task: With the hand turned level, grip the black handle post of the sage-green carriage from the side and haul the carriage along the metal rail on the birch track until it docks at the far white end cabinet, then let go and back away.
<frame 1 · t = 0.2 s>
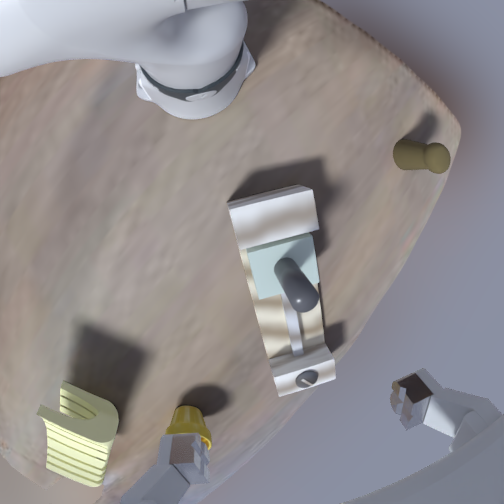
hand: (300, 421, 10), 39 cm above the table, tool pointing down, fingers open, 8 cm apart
rail track: (285, 295, 52), on the table
carriage: (290, 276, 41), point 9 cm above the table, slide at -8.0 cm
slatted curved stool: (89, 407, 57), on the table
olive brown pepper mill: (404, 154, 46), on the table
plant pot: (188, 412, 60), on the table
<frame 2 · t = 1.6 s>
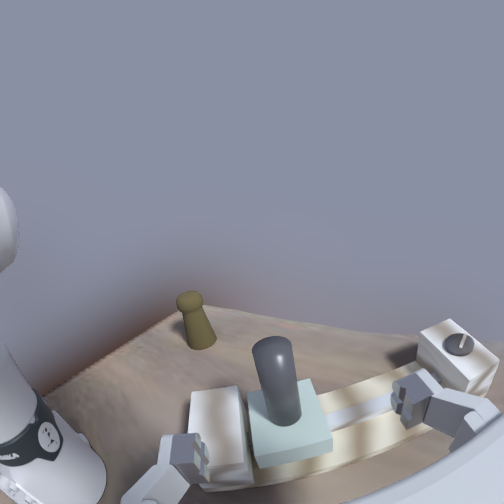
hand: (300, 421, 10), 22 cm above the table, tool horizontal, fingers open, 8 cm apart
rail track: (351, 424, 30), on the table
carriage: (282, 399, 27), point 9 cm above the table, slide at -8.0 cm
olive brown pepper mill: (202, 341, 57), on the table
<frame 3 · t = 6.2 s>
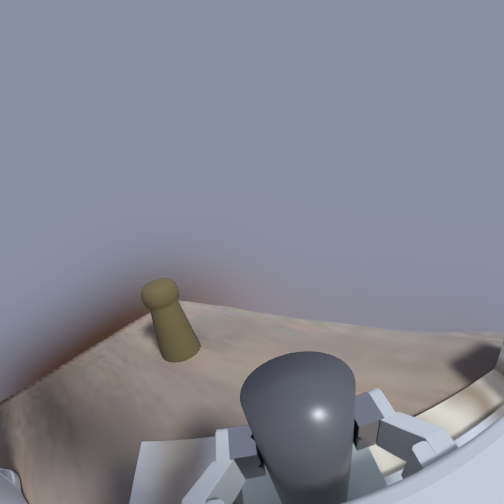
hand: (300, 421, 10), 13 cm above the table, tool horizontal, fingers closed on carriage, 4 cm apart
rail track: (418, 483, 13), on the table
carriage: (312, 480, 10), point 9 cm above the table, slide at -8.0 cm, touching gripper
olive brown pepper mill: (181, 350, 40), on the table
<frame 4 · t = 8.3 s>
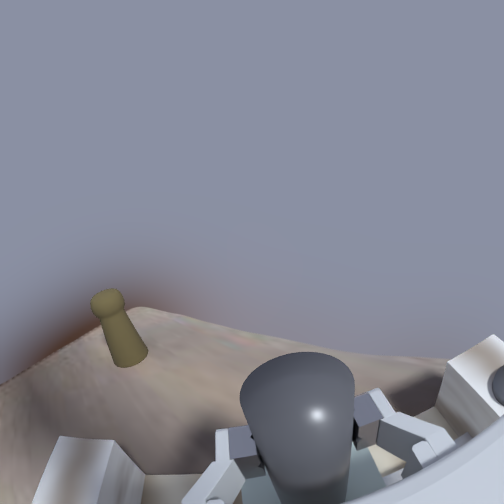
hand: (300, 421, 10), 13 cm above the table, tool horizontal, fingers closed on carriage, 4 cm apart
carriage: (311, 479, 10), point 9 cm above the table, slide at 0.4 cm, touching gripper
olive brown pepper mill: (131, 356, 39), on the table
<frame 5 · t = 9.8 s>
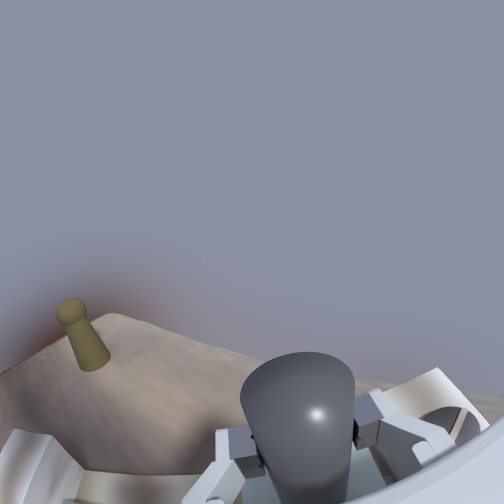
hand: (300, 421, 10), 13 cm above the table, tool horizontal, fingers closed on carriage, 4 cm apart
carriage: (311, 480, 10), point 9 cm above the table, slide at 7.5 cm, touching gripper
olive brown pepper mill: (95, 361, 39), on the table
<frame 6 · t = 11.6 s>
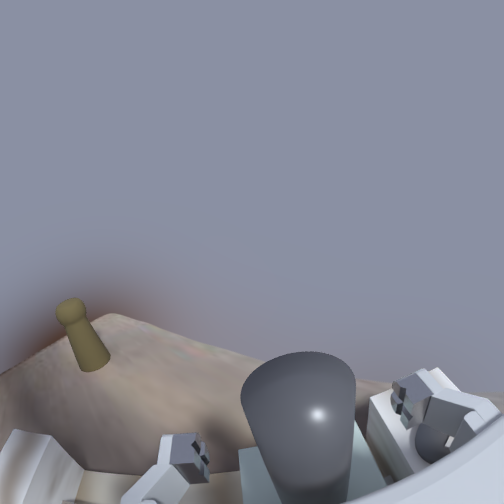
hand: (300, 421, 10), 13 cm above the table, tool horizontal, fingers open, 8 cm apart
carriage: (312, 480, 10), point 9 cm above the table, slide at 7.5 cm
olive brown pepper mill: (95, 362, 39), on the table
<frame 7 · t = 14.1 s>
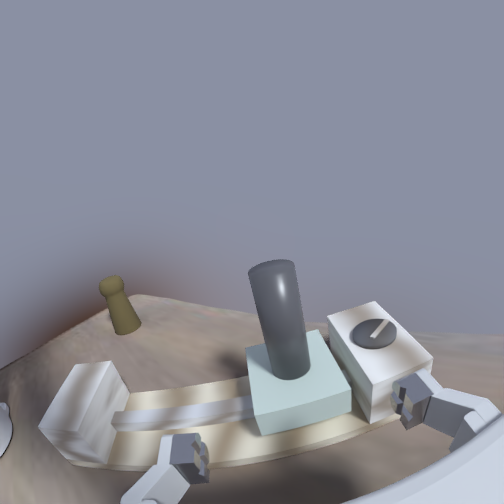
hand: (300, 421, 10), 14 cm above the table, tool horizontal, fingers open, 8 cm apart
rail track: (229, 422, 26), on the table
carriage: (286, 344, 24), point 9 cm above the table, slide at 7.5 cm
olive brown pepper mill: (128, 328, 53), on the table
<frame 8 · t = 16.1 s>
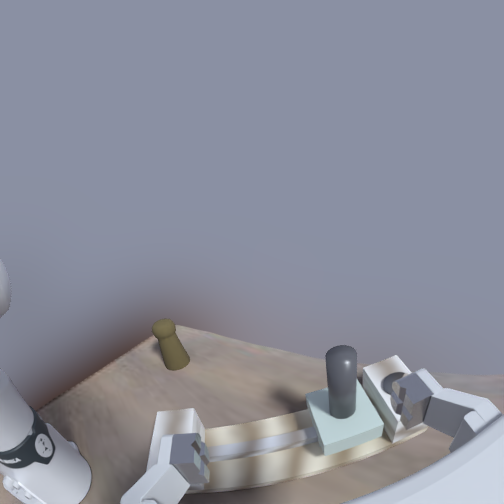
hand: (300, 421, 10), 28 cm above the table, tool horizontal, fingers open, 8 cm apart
rail track: (293, 446, 34), on the table
carriage: (342, 396, 32), point 9 cm above the table, slide at 7.5 cm
olive brown pepper mill: (177, 362, 61), on the table
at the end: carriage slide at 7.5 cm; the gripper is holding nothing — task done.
